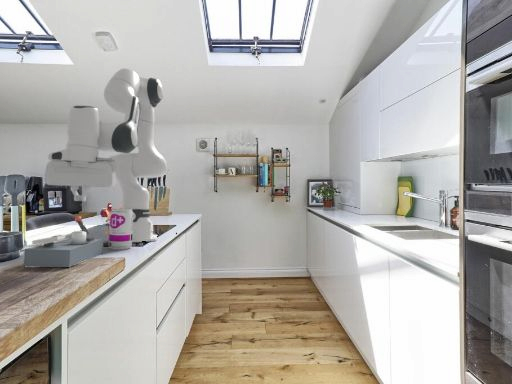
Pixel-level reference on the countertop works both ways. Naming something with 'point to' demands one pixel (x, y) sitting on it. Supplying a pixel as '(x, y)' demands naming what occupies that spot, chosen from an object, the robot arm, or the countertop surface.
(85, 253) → the console
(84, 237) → the button
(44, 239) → the rocker
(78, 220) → the lever
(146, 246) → the countertop surface
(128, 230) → the supplement can
